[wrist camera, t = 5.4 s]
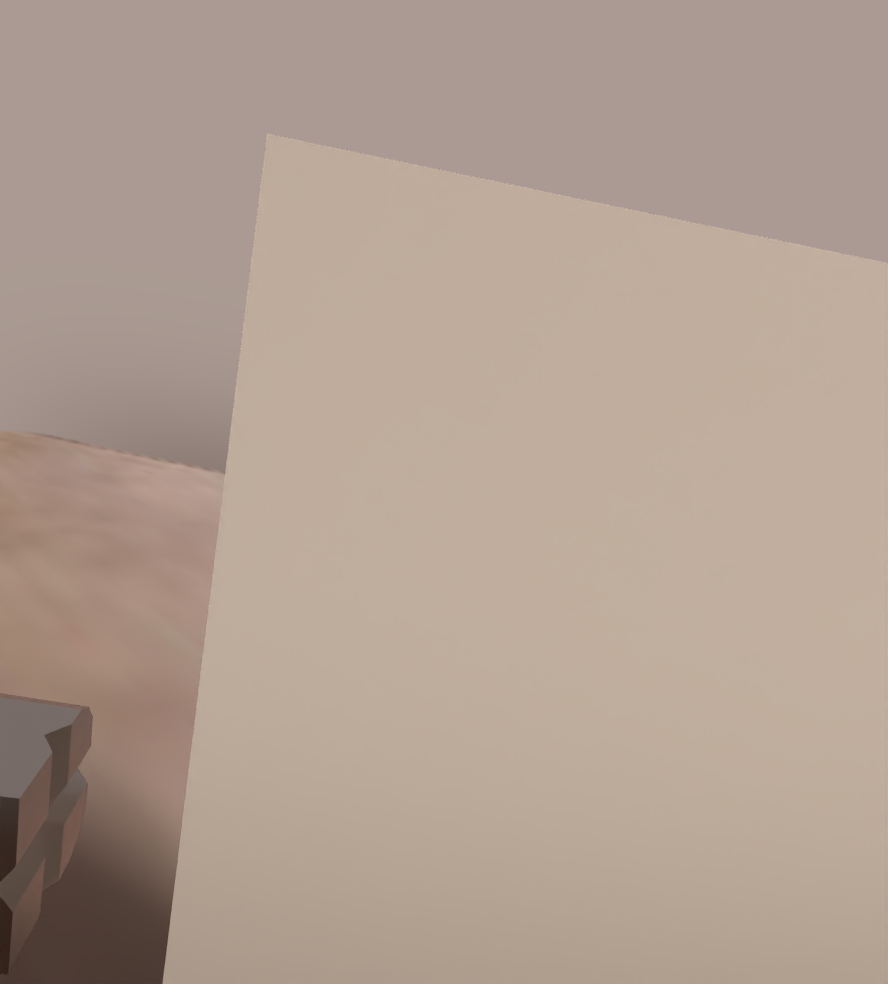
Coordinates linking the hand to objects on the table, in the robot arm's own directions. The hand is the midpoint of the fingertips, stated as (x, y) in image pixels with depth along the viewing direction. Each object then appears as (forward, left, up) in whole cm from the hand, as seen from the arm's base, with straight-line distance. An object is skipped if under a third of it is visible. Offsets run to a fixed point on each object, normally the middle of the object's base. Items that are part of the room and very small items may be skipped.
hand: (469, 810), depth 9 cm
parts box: (0, -1, -7) cm, 7 cm away
